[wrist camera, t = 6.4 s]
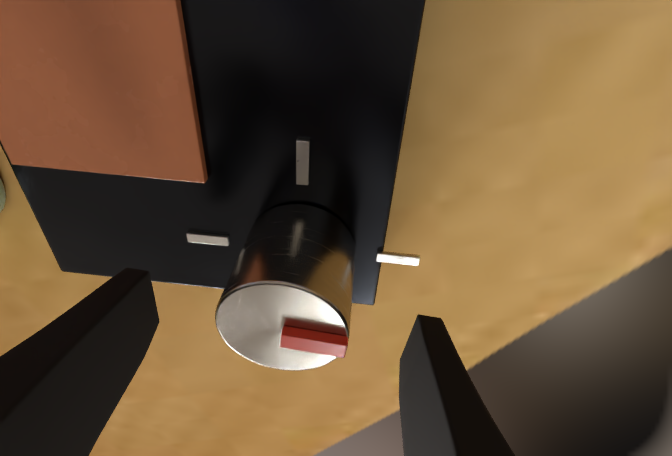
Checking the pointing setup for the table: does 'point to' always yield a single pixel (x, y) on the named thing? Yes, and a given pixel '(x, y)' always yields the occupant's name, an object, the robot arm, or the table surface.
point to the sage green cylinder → (2, 196)
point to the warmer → (256, 144)
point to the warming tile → (99, 88)
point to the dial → (290, 290)
